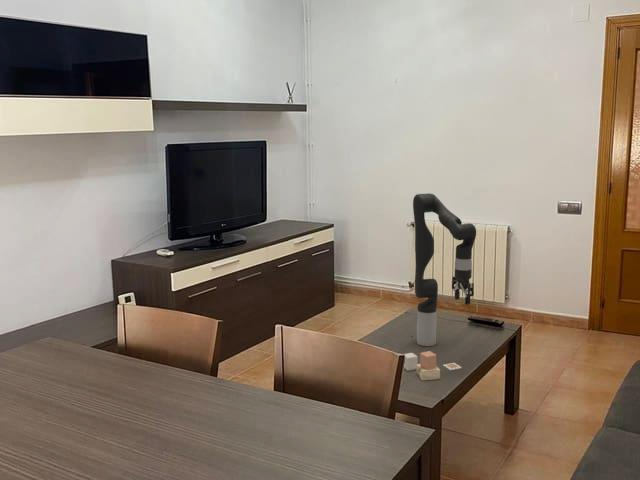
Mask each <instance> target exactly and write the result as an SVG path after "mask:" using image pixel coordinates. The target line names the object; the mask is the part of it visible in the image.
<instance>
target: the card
mask: <svg viewBox="0 0 640 480" xmlns="http://www.w3.org/2000/svg"><path fill="white" fill-rule="evenodd" d="M442 366H443V367H444V368H446V369H448V370H449V371H454V370H455V371H456V370H459V369H462V366H460V365H459V364H457V363H455V362H451V363H446V364H443V365H442Z"/></svg>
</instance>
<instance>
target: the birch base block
mask: <svg viewBox="0 0 640 480" xmlns="http://www.w3.org/2000/svg"><path fill="white" fill-rule="evenodd" d="M416 374H417V376H418V377H419V378H420V380H421V381H430V380H440V379H441V369H440V368H439V367H438V365H436V368H433V369H429V370H426V369H424V368H423V367H421V366H420V363H418V364H417V369H416Z"/></svg>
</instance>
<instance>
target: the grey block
mask: <svg viewBox="0 0 640 480" xmlns="http://www.w3.org/2000/svg"><path fill="white" fill-rule="evenodd" d="M403 354H404V355H405V364H404V369H405V370H406V371H408V372H409V371H414V370H417V364H419V363H418V361H419V360H418V359H419V358H418V356H417V355H416V354H415V353H413V352H409V353H403Z"/></svg>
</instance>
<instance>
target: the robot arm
mask: <svg viewBox="0 0 640 480" xmlns="http://www.w3.org/2000/svg"><path fill="white" fill-rule="evenodd" d="M412 209H413V217H414V218H413V219H414V220H413V221H414V254H415V270H414V271H415V274H414V294H415V297H416V298H418V299H425V298H426V299H425V300H423V301H422V302H420V303H418V305H417V323H416V343H417V344H418V345H419V346H422V347H432V346H435V345H437V306H438V295H439V294H438V293H439V288H438V287H439V284H438V281H437V280H436V279H435V278H424V275H425V270H426V268H427V266H428V265H429V263H430V261H431V260H432V259H433V256H434V254H435V239H434V236H433V234H432V232H431V231H430V229H429V228H428V226H427V223H426V220H425V219H426V218H425V213H434V214H437V216H438V217H437V218H438V221H439V223H440V224H441V225H442V226H443V227H445V228H446V229H447V230H448V231H449V233H450V234H451V236H452V237H453V238H454V239H455V240H457V241H462V242H461V243H459V244H457V245H456V246H455V260H454V275H453V276H452V277H451V278H452V279H451V289H452V290H453V291H454V300H456V301H457V300H460V297H461V294H460V293H461V291H462V293H464V296H465V297H464V305H466V306H468V305H470V304H471V297H474V295H475V294H474V293H475V292H474V289H475V287H474V283H472V282H470V279H472V272H473V271H472V270H473V267H472V266H473V261H472V254H473V253H472V250H473V246H474V244H475V241H476V237H477V228H476V226H475V225H474V224H473V223H469V222H467V223H463V224H462V220H461V219H460V218H459V216H457V215H455V214H454V213H453V212H451V211H450V210H449V209H448V208H447V207H446V206H445V205H444V203H443V202H442V201H441V200H440V199H439V198H438V197H437V196H436V195H435V194H434V193H417V194H415V195H414V197H413V200H412ZM460 290H461V291H460Z"/></svg>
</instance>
